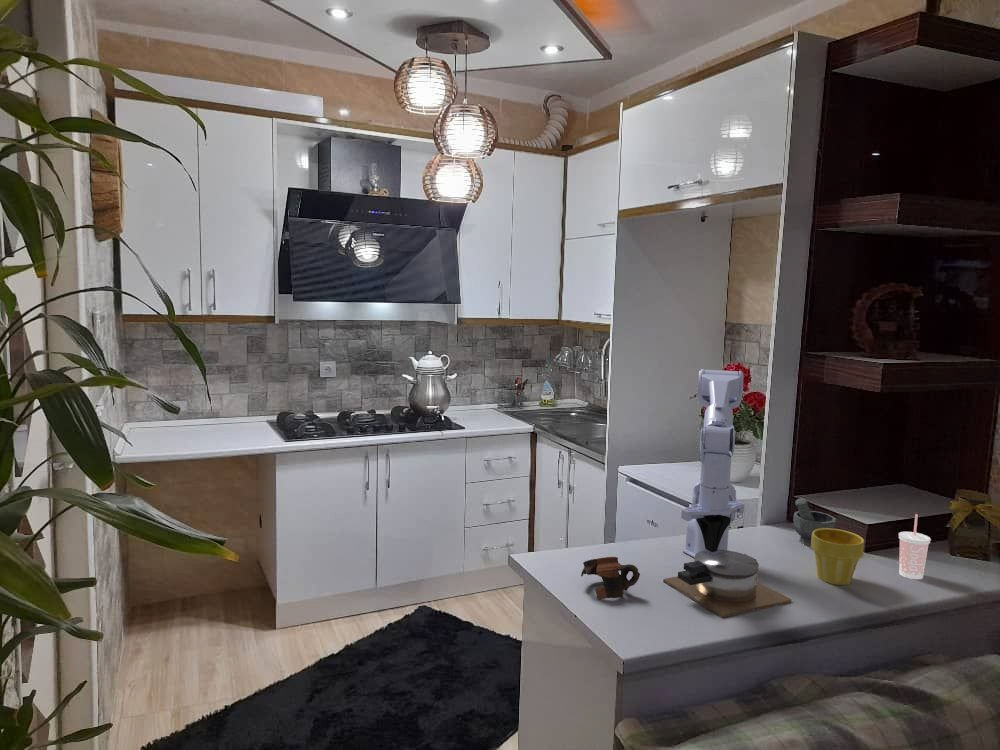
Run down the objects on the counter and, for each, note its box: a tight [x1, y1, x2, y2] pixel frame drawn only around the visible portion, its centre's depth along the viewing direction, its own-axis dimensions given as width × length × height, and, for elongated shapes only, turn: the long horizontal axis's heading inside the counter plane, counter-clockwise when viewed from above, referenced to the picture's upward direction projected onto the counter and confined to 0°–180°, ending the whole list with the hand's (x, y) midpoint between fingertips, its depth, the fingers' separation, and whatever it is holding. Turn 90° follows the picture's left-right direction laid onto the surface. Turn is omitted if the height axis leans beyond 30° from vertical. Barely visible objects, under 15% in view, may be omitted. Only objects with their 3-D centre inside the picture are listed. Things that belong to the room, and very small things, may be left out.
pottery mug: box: [580, 556, 641, 600], centre depth 146 cm, size 12×10×8 cm
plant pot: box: [810, 528, 865, 586], centre depth 153 cm, size 10×10×10 cm
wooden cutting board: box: [662, 570, 793, 619], centre depth 145 cm, size 18×20×5 cm
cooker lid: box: [683, 549, 760, 577], centre depth 144 cm, size 17×13×1 cm
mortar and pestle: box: [792, 497, 837, 547], centre depth 174 cm, size 11×9×12 cm
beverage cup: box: [898, 513, 932, 580], centre depth 156 cm, size 6×6×14 cm
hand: (711, 550), depth 143 cm, fingers closed
